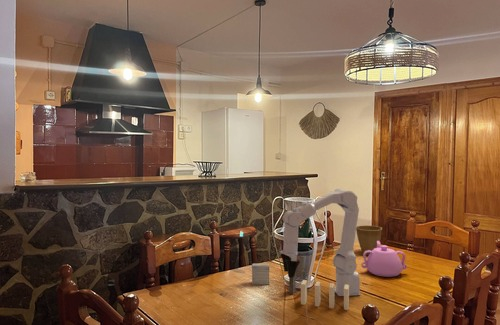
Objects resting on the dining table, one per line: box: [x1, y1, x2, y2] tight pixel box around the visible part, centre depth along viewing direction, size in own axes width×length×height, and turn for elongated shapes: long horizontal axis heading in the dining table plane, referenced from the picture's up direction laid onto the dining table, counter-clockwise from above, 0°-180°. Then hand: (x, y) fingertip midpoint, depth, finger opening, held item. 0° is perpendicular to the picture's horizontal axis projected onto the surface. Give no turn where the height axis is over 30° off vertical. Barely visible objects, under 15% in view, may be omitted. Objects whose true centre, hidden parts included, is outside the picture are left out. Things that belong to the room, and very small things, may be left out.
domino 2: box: [300, 279, 308, 306], centre depth 144 cm, size 2×5×8 cm, turn 161°
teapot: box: [361, 240, 408, 278], centre depth 182 cm, size 22×22×14 cm
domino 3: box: [314, 281, 322, 307], centre depth 142 cm, size 2×5×8 cm, turn 162°
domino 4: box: [328, 282, 336, 309], centre depth 141 cm, size 2×5×8 cm, turn 162°
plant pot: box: [356, 225, 383, 257], centre depth 216 cm, size 15×15×16 cm
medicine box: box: [251, 262, 270, 286], centre depth 166 cm, size 8×4×9 cm, turn 92°
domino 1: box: [288, 274, 296, 295], centre depth 155 cm, size 2×5×8 cm, turn 161°
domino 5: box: [343, 284, 350, 311], centre depth 139 cm, size 2×5×8 cm, turn 162°
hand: (288, 274), depth 146 cm, fingers open, 7 cm apart
